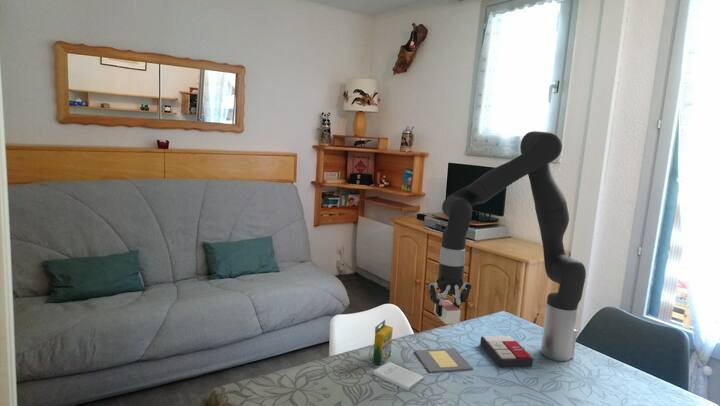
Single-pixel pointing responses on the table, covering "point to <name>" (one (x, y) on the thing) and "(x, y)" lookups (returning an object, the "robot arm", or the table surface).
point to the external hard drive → (398, 376)
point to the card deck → (449, 313)
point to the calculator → (506, 351)
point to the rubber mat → (442, 360)
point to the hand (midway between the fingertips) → (446, 315)
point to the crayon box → (382, 343)
